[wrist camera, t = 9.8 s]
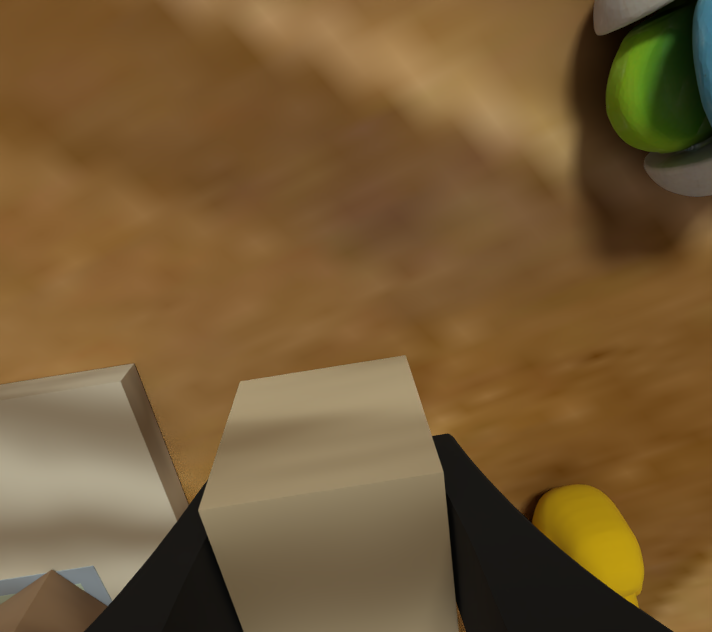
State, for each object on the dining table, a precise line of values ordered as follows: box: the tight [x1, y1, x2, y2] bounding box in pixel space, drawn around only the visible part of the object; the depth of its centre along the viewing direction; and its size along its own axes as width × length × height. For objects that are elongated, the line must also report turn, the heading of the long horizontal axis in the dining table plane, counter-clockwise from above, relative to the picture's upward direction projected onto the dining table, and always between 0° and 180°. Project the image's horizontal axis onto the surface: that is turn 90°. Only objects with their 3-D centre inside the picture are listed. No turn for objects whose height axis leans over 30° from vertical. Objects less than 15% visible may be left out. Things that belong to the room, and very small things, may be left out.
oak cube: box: [198, 355, 459, 632], centre depth 10 cm, size 4×4×4 cm
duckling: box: [532, 484, 644, 608], centre depth 22 cm, size 11×5×10 cm, turn 13°
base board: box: [0, 364, 189, 606], centre depth 23 cm, size 16×13×2 cm
